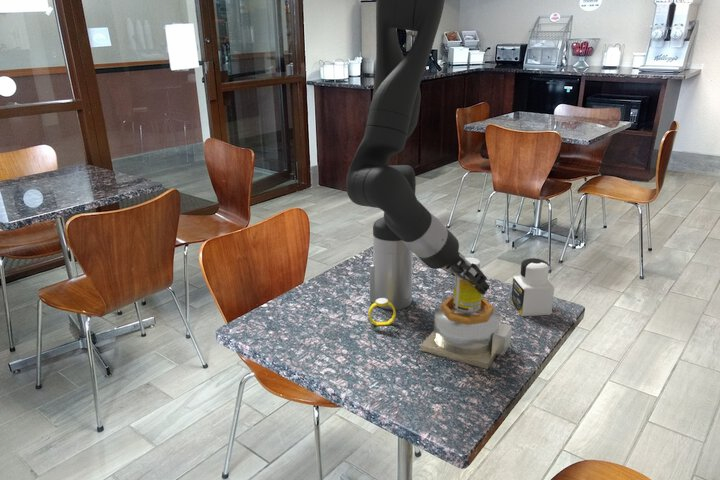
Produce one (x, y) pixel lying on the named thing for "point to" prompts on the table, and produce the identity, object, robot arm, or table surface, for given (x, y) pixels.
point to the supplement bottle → (466, 293)
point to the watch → (382, 303)
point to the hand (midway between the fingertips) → (474, 284)
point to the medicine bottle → (533, 289)
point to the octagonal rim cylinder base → (468, 334)
